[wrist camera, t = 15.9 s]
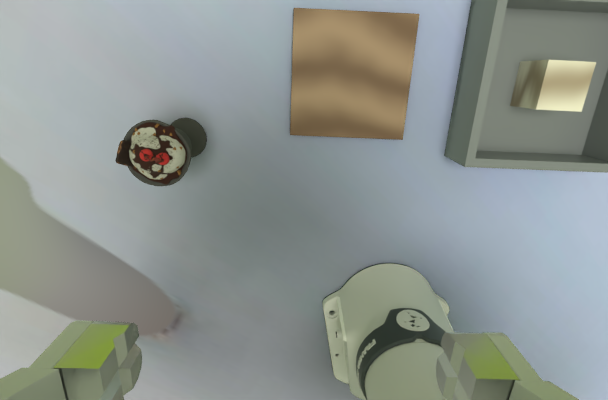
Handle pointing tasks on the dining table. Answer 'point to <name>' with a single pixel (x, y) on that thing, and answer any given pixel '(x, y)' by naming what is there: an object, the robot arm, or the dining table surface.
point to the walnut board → (351, 72)
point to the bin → (501, 80)
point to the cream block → (552, 85)
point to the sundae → (161, 150)
